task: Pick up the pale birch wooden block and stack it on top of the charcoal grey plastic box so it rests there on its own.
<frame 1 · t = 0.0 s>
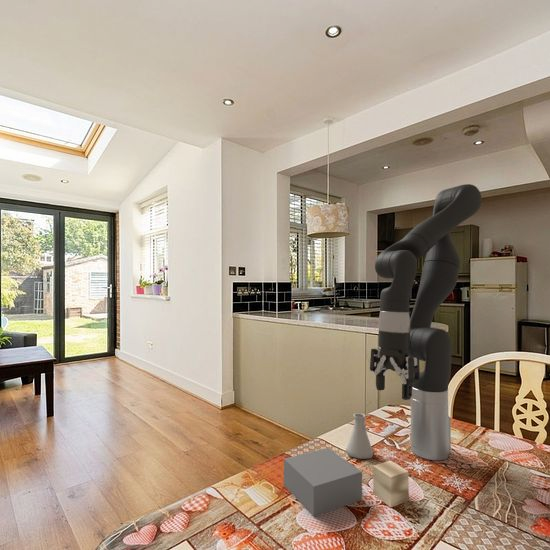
hand: (392, 394, 87), 17 cm above the table, tool pointing down, fingers open, 8 cm apart
birch block: (390, 497, 73), on the table
grey box: (321, 493, 75), on the table
flask: (359, 454, 92), on the table
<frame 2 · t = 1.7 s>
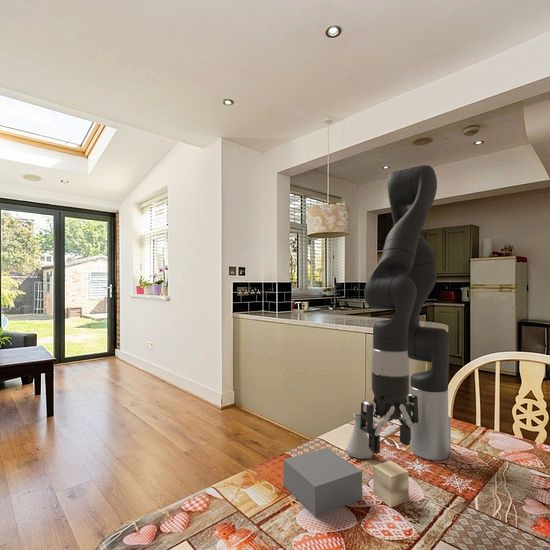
hand: (390, 448, 73), 10 cm above the table, tool pointing down, fingers open, 8 cm apart
nothing on the table moved.
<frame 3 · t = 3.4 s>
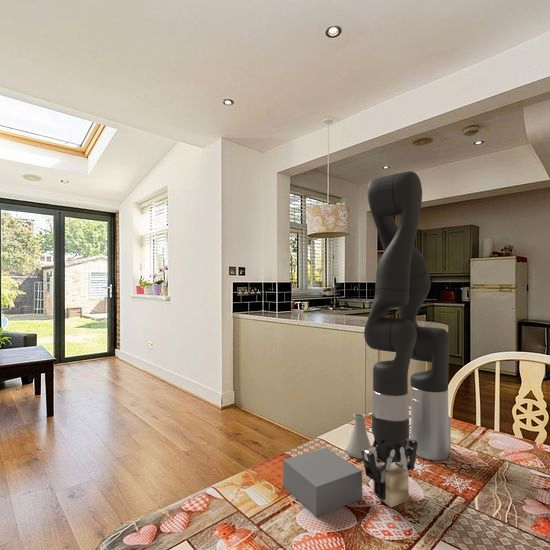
hand: (390, 493, 73), 1 cm above the table, tool pointing down, fingers closed on birch block, 5 cm apart
birch block: (390, 497, 73), on the table, touching gripper
everything else where it was.
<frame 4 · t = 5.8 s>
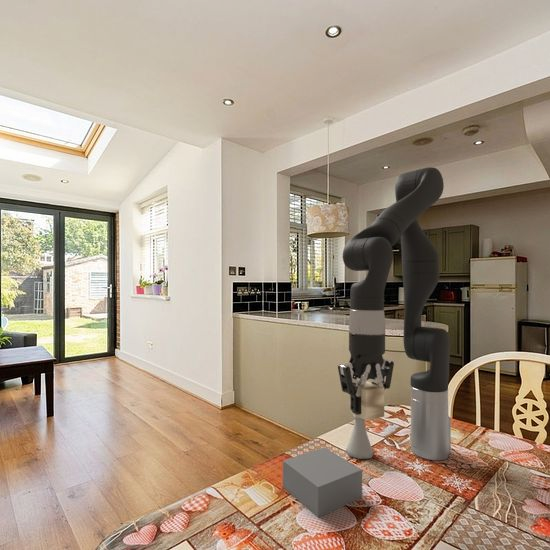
hand: (366, 411, 74), 18 cm above the table, tool pointing down, fingers closed on birch block, 5 cm apart
birch block: (366, 414, 74), point 17 cm above the table, touching gripper
everything else where it was.
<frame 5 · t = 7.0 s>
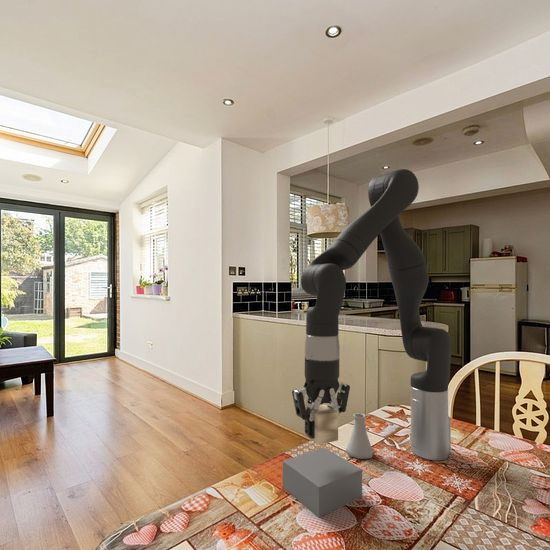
hand: (321, 434, 75), 12 cm above the table, tool pointing down, fingers closed on birch block, 5 cm apart
birch block: (321, 437, 75), point 12 cm above the table, touching gripper
everything else where it was.
when the fingers open (8 cm above the table, at t = 8.1 s): birch block drops 2 cm, resting on grey box.
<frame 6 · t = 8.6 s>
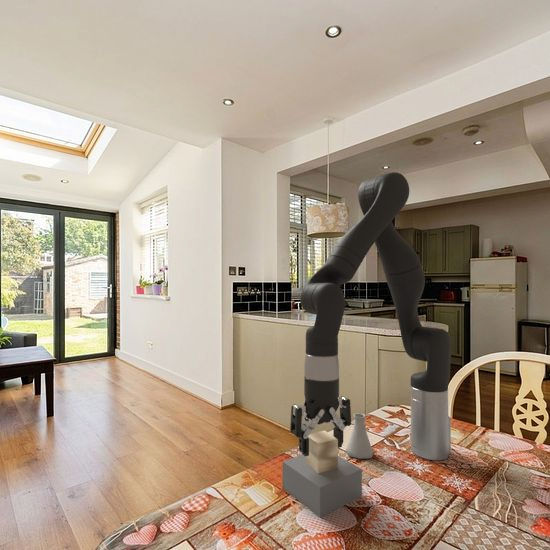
hand: (321, 450, 75), 9 cm above the table, tool pointing down, fingers open, 8 cm apart
birch block: (321, 465, 75), point 6 cm above the table, touching grey box
grey box: (321, 493, 75), on the table, touching birch block
everything else where it was.
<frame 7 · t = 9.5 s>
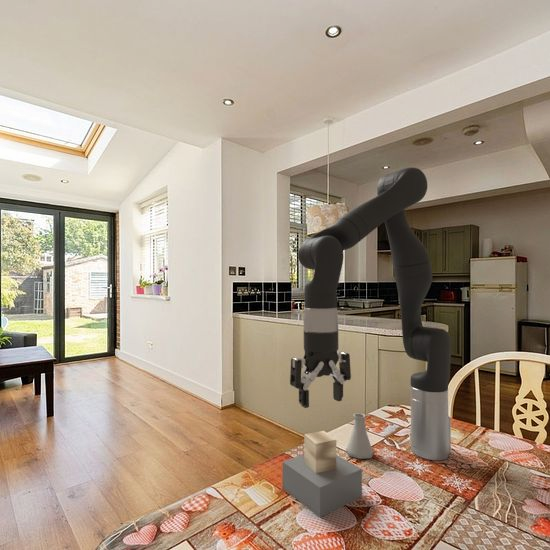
hand: (321, 403, 75), 19 cm above the table, tool pointing down, fingers open, 8 cm apart
birch block: (320, 465, 75), point 6 cm above the table
grey box: (321, 493, 75), on the table
everything else where it was.
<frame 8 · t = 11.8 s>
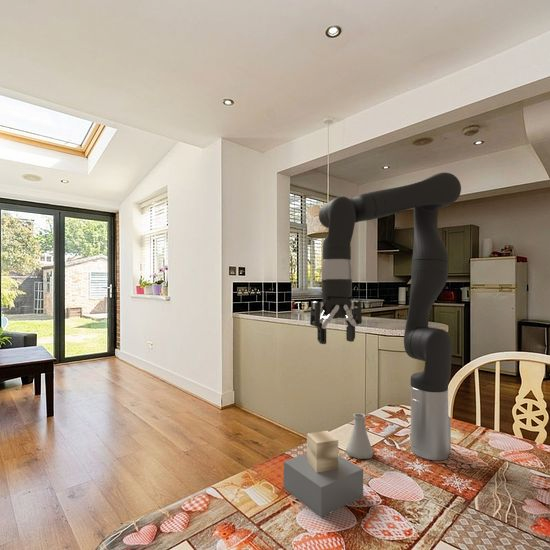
hand: (336, 342, 87), 30 cm above the table, tool pointing down, fingers open, 8 cm apart
birch block: (322, 464, 75), point 6 cm above the table, touching grey box
grey box: (322, 493, 75), on the table, touching birch block
everything else where it was.
at the end: birch block inside the target area on the grey box (0.2 cm from its centre), point 6.0 cm above the grey box's base; birch block tilted 0°; the gripper is holding nothing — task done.
